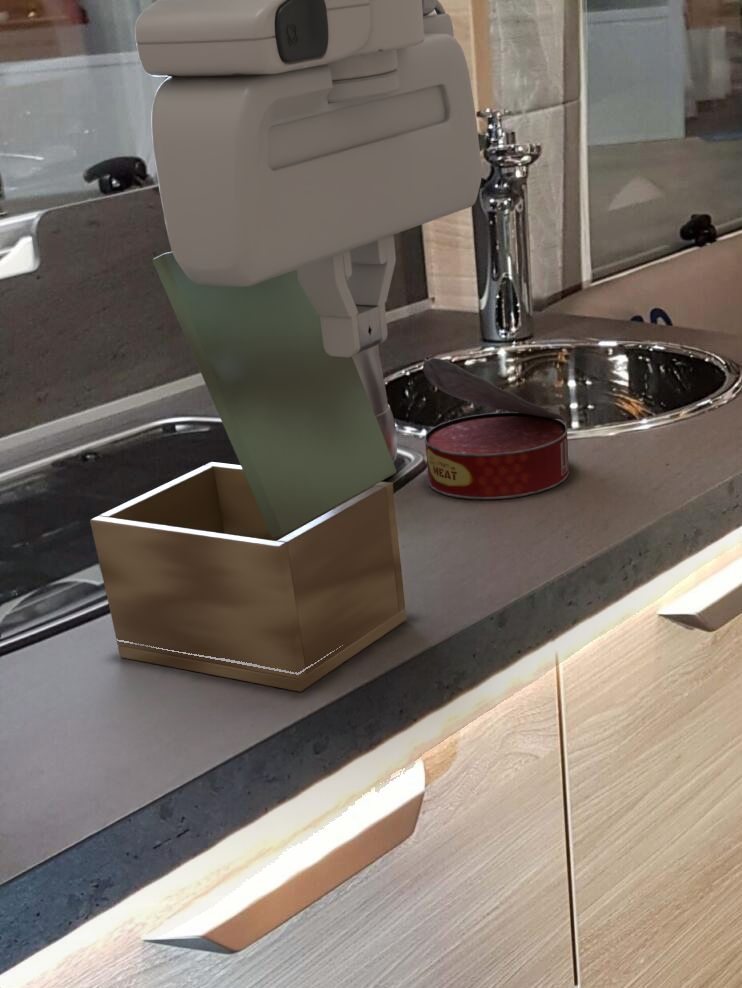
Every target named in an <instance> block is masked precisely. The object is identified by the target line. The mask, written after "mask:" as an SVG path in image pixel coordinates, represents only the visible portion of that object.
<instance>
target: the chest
mask: <svg viewBox="0 0 742 988" xmlns="http://www.w3.org/2000/svg"><path fill="white" fill-rule="evenodd" d="M397 522H398V521H397V513H396V504H395V493H394V483H392V482H386V481H381V482H379V483H377V484H375V485H374V486H372V487H370V488H368V489H366V490H365V491H363V492H361V493H359V494H357V495H356V496H354V497H352V498H350V499H348V500H347V501H345V502H343V503H341V504H339V505H338V506H336V507H334V508H332V509H330V510H329V511H327V512H325V513H323V514H322V515H320V516H318V517H316V518H314V519H313V520H311V521H309V522H307V523H305V524H304V525H302V526H300V527H298V528H296V529H295V530H293V531H291V532H289V533H287V534H286V535H284V536H281V537H278V538H275V539H273V538H272V537H271V534H270V532H269V530H268V527H267V525H266V523H265V521H264V518H263V516H262V514H261V511H260V509H259V507H258V504H257V502H256V500H255V497H254V495H253V493H252V490H251V488H250V486H249V483H248V481H247V479H246V476H245V474H244V472H243V469H242V467H241V465H240V464H233V463H232V464H231V463H225V462H224V463H223V462H214V461H210V462H208V463H206V464H205V465H202V466H200V467H198V468H196V469H194V470H191V471H190V472H187V473H185V474H183V475H181V476H179V477H177V478H174V479H172V480H171V481H169V482H166V483H164V484H162V485H160V486H158V487H156V488H154V489H152V490H149V491H147V492H145V493H143V494H141V495H139V496H137V497H134V498H132V499H130V500H128V501H127V502H124V503H122V504H120V505H118V506H116V507H114V508H112V509H109V510H107V511H105V512H103V513H101V514H99V515H98V516H95V517H93V518H91V519H90V520H89V523H90V526H91V527H90V528H91V531H92V536H93V540H94V544H95V549H96V554H97V557H98V563H99V568H100V572H101V576H102V581H103V585H104V589H105V594H106V599H107V603H108V609H109V613H110V616H111V617H110V618H111V621H112V626H113V630H114V635H115V639H118V640H124V641H129V642H133V643H137V644H138V643H139V644H144V645H148V646H149V645H150V646H152V647H153V646H154V647H157V648H158V647H159V648H163V649H168V650H174V651H179V652H186V653H190V654H191V653H192V654H197V655H198V654H199V655H204V656H211V657H216V658H225V659H230V660H235V661H240V662H241V661H242V662H245V663H246V662H247V663H252V664H257V665H260V666H265V667H270V668H275V669H277V668H278V669H281V670H286V671H289V672H290V671H291V672H294V673H295V672H297V673H298V672H300V671H302V670H303V669H305V668H306V667H308V666H310V665H311V664H314V663H315V662H317V661H318V660H320V659H321V658H323V657H324V656H326V655H327V654H329V653H330V652H332V651H334V650H335V651H334V652H332V653H331V654H329V655H328V656H326V657H325V658H323V659H322V660H320V661H319V662H317V663H316V664H314V665H313V666H311V667H310V668H308V669H306V670H305V671H304V672H302V673H301V674H299V675H296V674H290V673H285V672H279V671H274V670H269V669H263V668H258V667H253V666H247V665H242V664H237V663H231V662H226V661H221V660H215V659H210V658H205V657H199V656H194V655H188V654H183V653H178V652H172V651H167V650H162V649H156V648H151V647H146V646H140V645H135V644H130V643H124V642H119V641H117V640H116V644H117V648H118V653H119V657H120V658H123V659H128V660H134V661H139V662H144V663H149V664H155V665H160V666H165V667H169V668H175V669H180V670H186V671H191V672H196V673H200V674H206V675H211V676H218V677H221V678H226V679H227V678H228V679H232V680H238V681H243V682H247V683H253V684H258V685H263V686H269V687H274V688H280V689H285V690H290V691H295V692H303V691H304V690H305V689H307V688H309V687H311V686H312V685H313V684H315V683H316V682H318V681H319V680H320V679H322V678H323V677H325V676H326V675H328V674H329V673H331V672H332V671H334V670H335V669H336V668H338V667H339V666H341V665H342V664H344V663H345V662H347V661H348V660H350V659H351V658H352V657H354V656H355V655H357V654H359V653H360V652H361V651H363V650H365V649H366V648H367V647H369V646H370V645H371V644H373V643H374V642H376V641H377V640H380V638H382V637H383V636H385V635H386V634H388V633H389V632H391V631H392V630H394V629H395V628H397V627H398V626H399V625H401V624H403V623H404V622H405V621H407V619H408V618H407V609H406V599H405V598H406V597H405V589H404V581H403V580H404V579H403V572H402V571H403V569H402V561H401V551H400V541H399V532H398V523H397ZM342 645H343V646H342ZM340 646H341V647H340ZM339 647H340V648H339ZM337 648H338V649H337ZM336 649H337V650H336Z"/></svg>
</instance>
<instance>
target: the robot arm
mask: <svg viewBox="0 0 742 988" xmlns="http://www.w3.org/2000/svg"><path fill="white" fill-rule="evenodd" d="M433 12H434V13H433ZM134 23H135V24H134V40H135V43H136V44H135V45H136V50H137V56H138V59H139V62H140V65H141V67H142V69H143V71H144V72H145V74H147V75H149V76H151V77H168V78H166V79H165V80H164V81H163V82H162V83H160V85H159V86H158V88H157V90H156V91H155V94H154V98H153V101H152V106H151V118H150V120H151V123H150V124H151V125H150V126H151V127H150V128H151V139H152V148H153V155H154V156H153V157H154V163H155V170H156V171H155V172H156V176H157V183H158V189H159V196H160V201H161V206H162V207H161V208H162V211H163V212H162V214H163V218H164V224H165V228H166V233H167V238H168V242H169V245H170V249H171V251H172V253H173V255H174V258H175V259H176V261H177V263H178V264H179V265H180V267H181V268H182V270H183V271H184V272H185V274H186V275H187V276H188V278H189V279H190V280H191V281H192V282H194V283H196V284H202V285H214V286H238V287H245V286H252V285H255V284H258V283H261V282H263V281H266V280H269V279H272V278H274V277H277V276H280V275H283V274H286V273H288V272H291V271H294V270H297V275H298V281H299V283H300V285H301V287H302V288H303V290H304V292H305V294H306V296H307V297H308V299H309V301H310V303H311V304H312V306H313V308H314V310H315V311H316V313H317V315H318V316H320V323H321V331H322V339H323V346H324V349H325V351H326V353H327V354H329V355H330V356H335V357H348V358H349V357H351V356H354V355H356V354H358V353H360V352H362V351H364V350H367V349H369V348H372V347H374V346H377V345H378V346H379V345H381V344H383V343H385V342H386V341H387V338H388V324H387V315H386V303H387V301H388V296H389V291H390V288H391V283H392V278H393V275H394V274H393V273H394V271H395V265H396V261H397V256H396V246H395V235H397V234H399V233H402V232H405V231H408V230H411V229H414V228H416V227H419V226H421V225H424V224H427V223H430V222H433V221H435V220H438V219H441V218H443V217H446V216H449V215H452V214H455V213H458V212H461V211H463V210H466V209H470V208H471V207H473V206H474V205H475V203H476V202H477V199H478V196H479V191H480V187H481V184H482V175H483V174H482V173H483V172H482V169H483V168H482V159H481V158H482V157H481V149H480V141H479V139H480V138H479V132H478V131H479V130H478V123H477V116H476V109H475V102H474V101H475V100H474V96H473V88H472V82H471V76H470V70H469V67H468V62H467V59H466V55H465V53H464V51H463V48H462V46H461V44H460V43H459V41H458V40H457V39H456V38H455V35H454V33H455V32H454V26H453V21H452V18H451V16H450V14H449V13H446V11H445V8H444V7H443V5H442V3H441V2H440V1H439V0H155V1H154V2H153V3H152V4H150V5H149V6H148V7H146V8H145V9H144V10H143V11H142V12H141V13H140V14H139V15H138V17H137V18H136V20H135V22H134ZM347 277H349V281H348V285H347V283H346V280H345V278H347Z"/></svg>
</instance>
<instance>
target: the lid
mask: <svg viewBox="0 0 742 988" xmlns="http://www.w3.org/2000/svg"><path fill="white" fill-rule="evenodd" d="M152 263H153V265H154V267H155V269H156V271H157V274H158V277H159V279H160V281H161V284H162V286H163V289H164V291H165V293H166V295H167V298H168V300H169V303H170V305H171V306H172V309H173V312H174V314H175V316H176V318H177V321H178V323H179V325H180V328H181V330H182V332H183V335H184V337H185V339H186V341H187V345H188V346H189V349H190V351H191V353H192V356H193V358H194V360H195V363H196V365H197V367H198V369H199V371H200V374H201V376H202V379H203V381H204V384H205V386H206V388H207V390H208V393H209V395H210V397H211V400H212V402H213V405H214V407H215V409H216V412H217V414H218V416H219V418H220V420H221V423H222V426H223V428H224V430H225V432H226V434H227V437H228V439H229V441H230V443H231V446H232V448H233V451H234V453H235V455H236V459H237V460H238V462H239V465H241V467H242V469H243V472H244V474H245V476H246V479H247V481H248V483H249V486H250V488H251V490H252V493H253V495H254V497H255V500H256V502H257V504H258V507H259V509H260V511H261V514H262V516H263V518H264V521H265V523H266V525H267V527H268V530H269V532H270V534H271V537H272V538H273V539H275V538H278V537H281V536H284V535H286V534H287V533H289V532H291V531H293V530H295V529H296V528H298V527H300V526H302V525H304V524H305V523H307V522H309V521H311V520H313V519H314V518H316V517H318V516H320V515H322V514H323V513H325V512H327V511H329V510H330V509H332V508H334V507H336V506H338V505H339V504H341V503H343V502H345V501H347V500H348V499H350V498H352V497H354V496H356V495H357V494H359V493H361V492H363V491H365V490H366V489H368V488H370V487H372V486H374V485H375V484H377V483H379V482H384V481H385V480H386V479H388V478H390V477H392V476H394V475H395V474H397V468H396V466H395V462H394V463H393V460H392V458H391V455H390V453H389V450H388V448H387V445H386V442H385V440H384V437H383V435H382V432H381V430H380V427H379V424H378V422H377V419H376V417H375V414H374V412H373V409H372V406H371V404H370V401H369V399H368V396H367V394H366V391H365V388H364V386H363V383H362V381H361V378H360V376H359V373H358V370H357V368H356V365H355V363H354V360H353V358H352V356H351V357H349V358H348V357H335V356H330V355H329V354H327V353H326V351H325V349H324V346H323V339H322V331H321V323H320V316H318V315H317V313H316V311H315V310H314V308H313V306H312V304H311V303H310V301H309V299H308V297H307V296H306V294H305V292H304V290H303V288H302V287H301V285H300V283H299V281H298V275H297V270H294V271H291V272H288V273H286V274H283V275H280V276H277V277H274V278H272V279H269V280H266V281H263V282H261V283H258V284H255V285H252V286H245V287H238V286H214V285H202V284H196V283H194V282H192V281H191V280H190V279H189V278H188V276H187V275H186V274H185V272H184V271H183V270H182V268H181V267H180V265H179V264H178V263H177V261H176V259H175V258H174V255H173V253H172V250H171V251H169V252H165V253H162V254H160V255H158V256H156V257H154V258H153V259H152Z"/></svg>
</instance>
